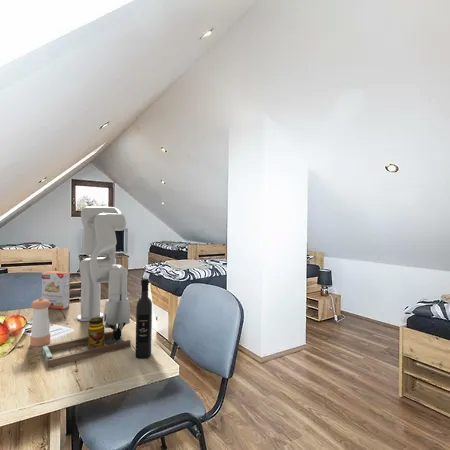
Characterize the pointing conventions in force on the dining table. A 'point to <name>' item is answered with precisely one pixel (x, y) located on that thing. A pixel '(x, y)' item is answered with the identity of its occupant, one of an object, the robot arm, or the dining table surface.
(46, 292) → the cracker box
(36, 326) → the pepper shaker
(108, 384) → the dining table surface
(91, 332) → the condiment
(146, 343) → the wine bottle
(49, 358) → the trap lane
